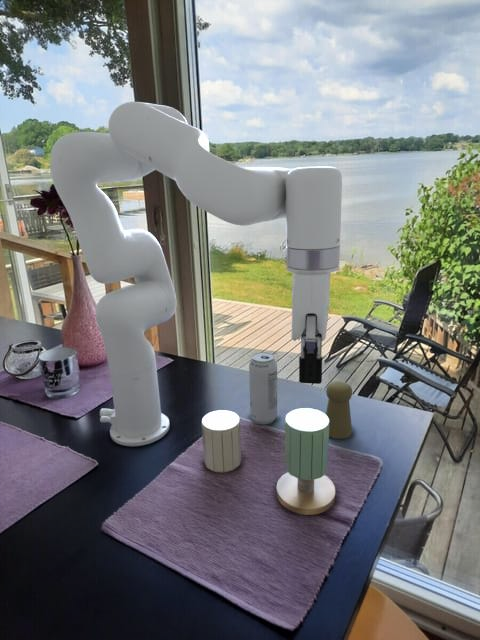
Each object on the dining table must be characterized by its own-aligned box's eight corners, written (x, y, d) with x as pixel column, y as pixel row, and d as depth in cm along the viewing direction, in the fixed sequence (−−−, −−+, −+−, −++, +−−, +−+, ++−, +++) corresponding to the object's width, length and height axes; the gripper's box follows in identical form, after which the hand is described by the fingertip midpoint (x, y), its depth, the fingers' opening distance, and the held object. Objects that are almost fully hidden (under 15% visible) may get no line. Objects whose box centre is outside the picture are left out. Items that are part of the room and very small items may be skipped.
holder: (273, 511, 72) (273, 437, 67) (279, 472, 81) (278, 404, 76) (336, 518, 70) (340, 442, 65) (334, 476, 79) (337, 408, 75)
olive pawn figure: (352, 440, 90) (355, 392, 86) (322, 437, 91) (324, 390, 87) (351, 424, 95) (354, 378, 92) (323, 421, 96) (324, 376, 93)
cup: (200, 470, 82) (197, 428, 79) (209, 448, 89) (206, 408, 86) (237, 473, 81) (235, 431, 78) (243, 450, 87) (242, 411, 85)
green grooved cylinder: (283, 478, 71) (283, 429, 68) (286, 451, 78) (286, 406, 75) (327, 481, 70) (329, 432, 67) (327, 455, 76) (328, 409, 73)
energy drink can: (256, 409, 102) (255, 349, 98) (281, 414, 100) (281, 353, 95) (246, 422, 97) (244, 360, 92) (271, 428, 95) (271, 364, 90)
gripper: (289, 248, 71) (290, 346, 77) (281, 271, 55) (282, 393, 61) (337, 247, 70) (333, 347, 75) (342, 271, 54) (338, 396, 59)
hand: (310, 368), depth 68 cm, fingers open, 9 cm apart
